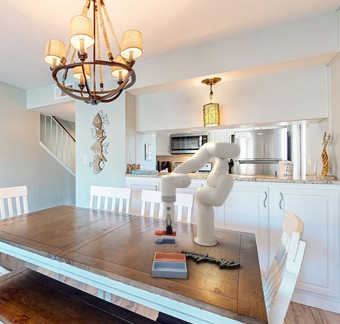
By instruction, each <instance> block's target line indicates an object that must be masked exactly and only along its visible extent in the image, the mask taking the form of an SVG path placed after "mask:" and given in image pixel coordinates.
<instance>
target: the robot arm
mask: <svg viewBox="0 0 340 324" xmlns="http://www.w3.org/2000/svg"><path fill="white" fill-rule="evenodd" d="M240 154H241V147H240V145H239V144H238V143H236V142H228V141H227V142H226V141H209V142H205V143H203V145H202V146H200V148H199V149H198V150H197V151H196V152H195V153H194V154H193V155H192V156H191V157H190V158H188V159H186V160H185V161H183V162H181V163H180V164H178V165H177V166H176V167H175V168H174V169H173V170H172V171H171V172H170V173H169V174H163V175H161V178H160V194H161V196H160V197H161V199H160V200H161V203H163V214H164V215H163V216H164V222H165V223H166V225H165V230H166V235H172V231H173V223H175V219H176V218H175V215H176V214H175V211H176V210H175V203H176V202H177V189H187V188H189V187H190V186H191V184H192V178H191V176H189V174H190V173H193V172H197V171H199V170H202V169H204V167H205V166H206V165H207V164H208V162H209V161H210V160H211V159H212V158H214V165H213V167H212V169H211V170H210V171H209V174H208V176H207V178H206V180H205V183H206V185H207V186H201V187H199V188H197V189H196V191H195V201H196V211H197V212H196V218H197V219H196V223H197V224H196V230H197V231H196V236H195V237H194V239H193V241H194V243H195V244H196V245H199V246H204V247H213V246H216V245H217V244H218V241H224V237H223V236H220V235H219V234H217V235H216V234H215V209H214V207H215V208H218V207H219V208H220V207H222V206H223V205H224V204H225V202H226V201H227V198H228V197H229V195H230V193H231V191H232V189H233V187H234V184H235V183H234V182H235V181H234V180H235V179H234V177H233V176H232V174H231V173H229V169H230V166H229V163H228V159H236V158H238V157H239V156H240ZM166 235H165V236H166Z"/></svg>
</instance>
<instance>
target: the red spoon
mask: <svg viewBox="0 0 340 324" xmlns="http://www.w3.org/2000/svg"><path fill="white" fill-rule="evenodd" d="M154 235H155V236H158V237H162V236H167V237H177V231H175V230H172V235H166V229H163V230H155V231H154Z"/></svg>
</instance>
